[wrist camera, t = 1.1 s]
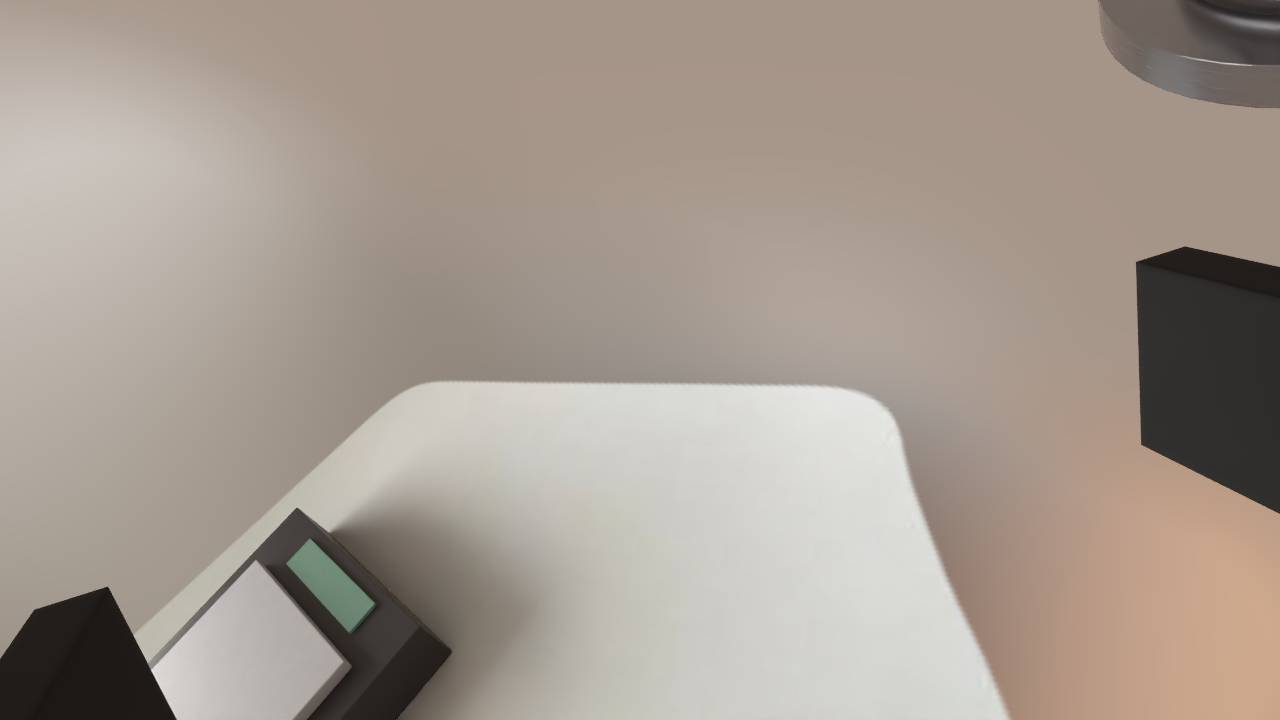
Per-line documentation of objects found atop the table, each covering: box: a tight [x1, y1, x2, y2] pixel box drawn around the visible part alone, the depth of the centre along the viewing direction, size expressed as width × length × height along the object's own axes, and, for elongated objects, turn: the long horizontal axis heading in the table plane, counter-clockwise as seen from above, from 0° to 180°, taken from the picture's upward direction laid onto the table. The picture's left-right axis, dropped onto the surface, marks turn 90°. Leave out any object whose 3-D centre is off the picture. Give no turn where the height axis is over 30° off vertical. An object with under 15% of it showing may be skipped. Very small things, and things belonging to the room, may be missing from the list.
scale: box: [148, 508, 452, 720], centre depth 41 cm, size 14×13×3 cm
